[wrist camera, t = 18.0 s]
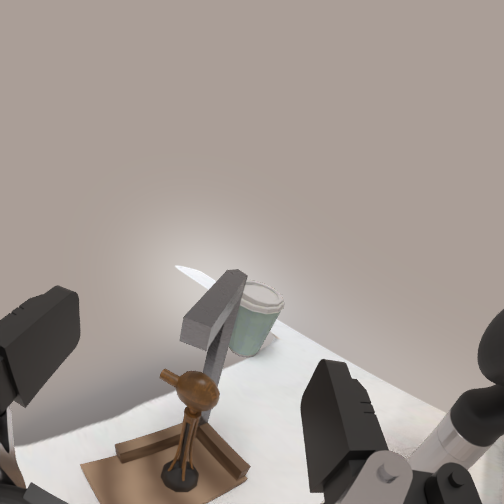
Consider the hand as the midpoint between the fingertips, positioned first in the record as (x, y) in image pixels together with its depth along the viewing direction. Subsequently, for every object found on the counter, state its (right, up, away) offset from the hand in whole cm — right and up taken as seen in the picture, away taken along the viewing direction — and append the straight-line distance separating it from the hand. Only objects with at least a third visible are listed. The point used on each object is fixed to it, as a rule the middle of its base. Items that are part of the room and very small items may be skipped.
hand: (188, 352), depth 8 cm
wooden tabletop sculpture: (-8, -25, +19) cm, 33 cm away
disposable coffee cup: (0, -18, +53) cm, 56 cm away
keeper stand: (-9, -26, +18) cm, 33 cm away
